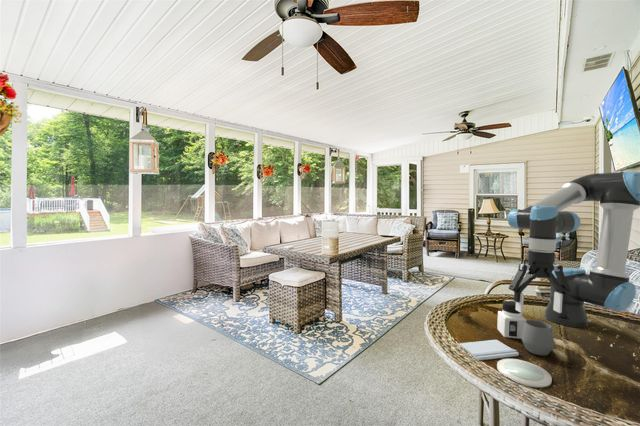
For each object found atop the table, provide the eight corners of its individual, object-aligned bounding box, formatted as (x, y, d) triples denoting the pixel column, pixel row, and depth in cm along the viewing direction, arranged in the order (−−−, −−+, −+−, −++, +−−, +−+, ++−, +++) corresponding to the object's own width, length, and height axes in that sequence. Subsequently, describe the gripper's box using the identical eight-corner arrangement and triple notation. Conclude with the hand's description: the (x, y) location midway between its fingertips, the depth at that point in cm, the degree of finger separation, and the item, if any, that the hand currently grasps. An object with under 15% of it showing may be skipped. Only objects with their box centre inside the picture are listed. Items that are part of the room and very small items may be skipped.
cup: (542, 361, 102) (543, 331, 102) (514, 348, 111) (516, 321, 110) (559, 355, 106) (561, 326, 106) (531, 343, 115) (533, 317, 114)
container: (526, 339, 118) (527, 305, 117) (504, 337, 120) (505, 304, 119) (517, 330, 126) (519, 299, 125) (496, 329, 127) (498, 297, 126)
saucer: (529, 361, 102) (529, 357, 102) (564, 387, 88) (564, 383, 88) (487, 361, 102) (487, 358, 102) (515, 387, 88) (516, 384, 88)
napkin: (496, 342, 116) (496, 338, 115) (518, 355, 106) (518, 352, 106) (458, 346, 112) (458, 342, 112) (477, 360, 103) (477, 356, 102)
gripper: (567, 249, 111) (564, 307, 112) (499, 248, 110) (496, 307, 111) (586, 253, 103) (582, 315, 104) (513, 252, 102) (509, 315, 104)
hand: (538, 311), depth 108 cm, fingers open, 13 cm apart
